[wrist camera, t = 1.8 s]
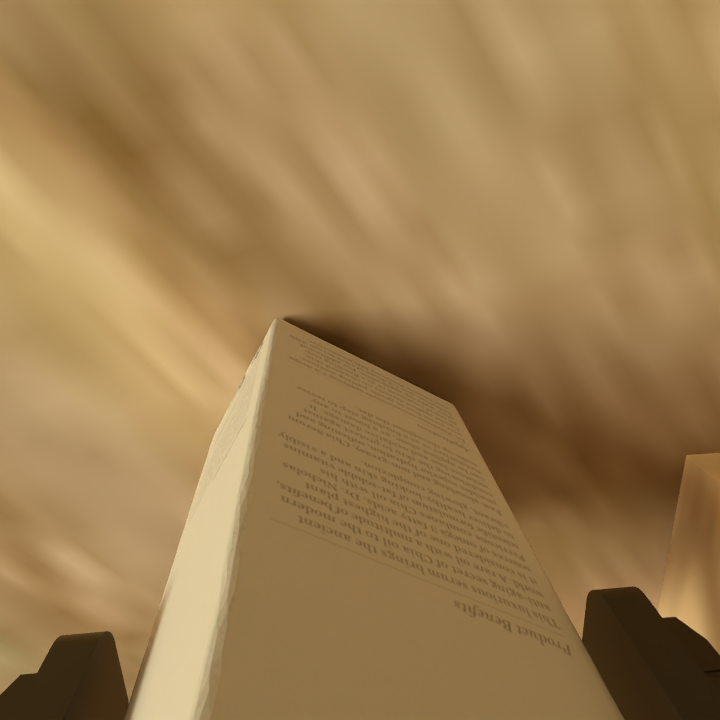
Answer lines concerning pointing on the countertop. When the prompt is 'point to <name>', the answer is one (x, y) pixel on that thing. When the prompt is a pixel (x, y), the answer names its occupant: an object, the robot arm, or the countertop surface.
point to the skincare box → (355, 565)
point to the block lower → (696, 551)
